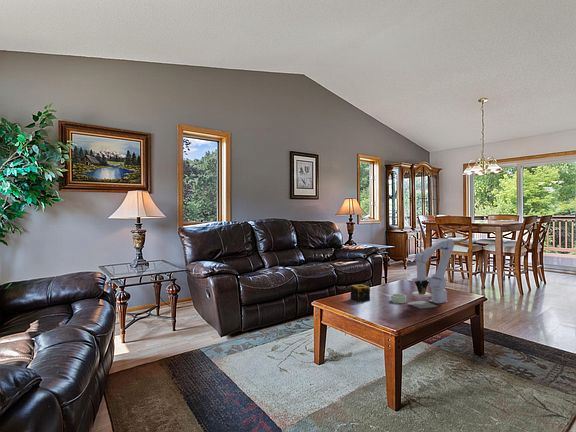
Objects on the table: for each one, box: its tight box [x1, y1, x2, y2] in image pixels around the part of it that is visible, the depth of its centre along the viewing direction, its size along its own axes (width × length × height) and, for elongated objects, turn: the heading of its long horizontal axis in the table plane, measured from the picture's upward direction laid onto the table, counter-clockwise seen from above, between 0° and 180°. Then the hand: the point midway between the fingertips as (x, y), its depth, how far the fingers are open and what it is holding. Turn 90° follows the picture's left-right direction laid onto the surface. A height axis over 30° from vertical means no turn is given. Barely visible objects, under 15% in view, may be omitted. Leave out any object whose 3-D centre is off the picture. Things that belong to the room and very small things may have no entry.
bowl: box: [390, 293, 407, 304], centre depth 220 cm, size 10×10×4 cm
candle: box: [350, 283, 371, 303], centre depth 227 cm, size 10×10×10 cm
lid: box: [411, 287, 432, 298], centre depth 212 cm, size 12×12×5 cm
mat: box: [406, 300, 438, 309], centre depth 212 cm, size 14×14×1 cm
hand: (421, 292), depth 212 cm, fingers closed on lid, 3 cm apart
